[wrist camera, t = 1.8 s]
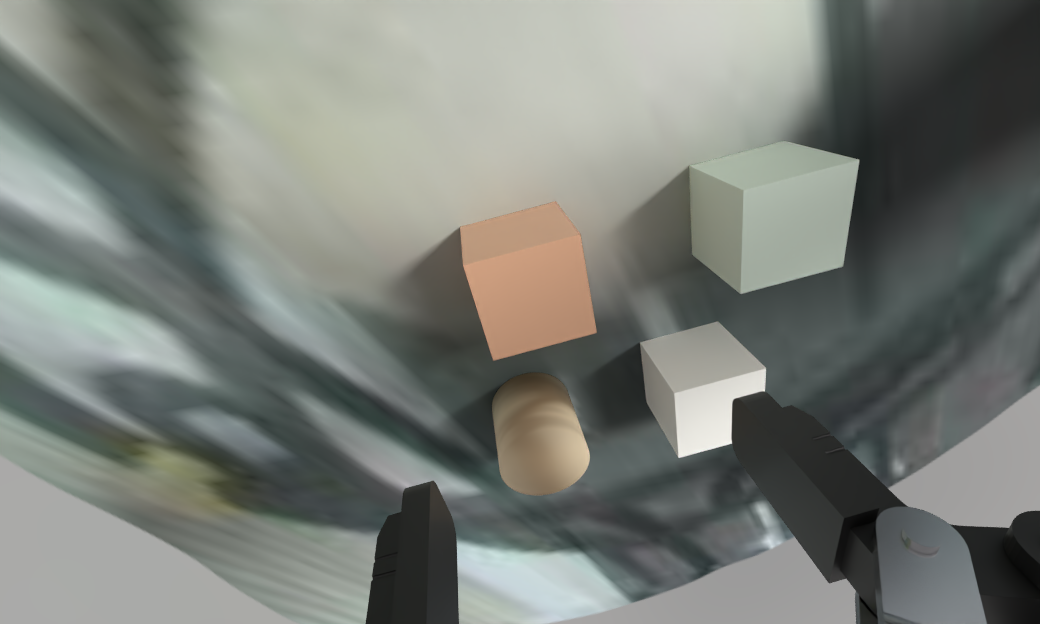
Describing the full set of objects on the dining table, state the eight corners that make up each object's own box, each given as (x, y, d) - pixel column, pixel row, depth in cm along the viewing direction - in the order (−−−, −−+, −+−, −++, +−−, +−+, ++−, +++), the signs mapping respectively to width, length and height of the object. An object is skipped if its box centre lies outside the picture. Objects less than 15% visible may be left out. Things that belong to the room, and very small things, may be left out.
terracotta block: (555, 201, 23) (580, 234, 19) (571, 286, 26) (596, 332, 21) (460, 226, 23) (463, 265, 19) (485, 309, 26) (493, 360, 21)
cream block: (717, 320, 28) (766, 368, 24) (717, 382, 31) (761, 435, 26) (639, 341, 28) (674, 393, 24) (646, 401, 31) (678, 457, 26)
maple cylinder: (561, 363, 28) (582, 419, 24) (574, 421, 31) (595, 481, 26) (482, 384, 28) (489, 444, 24) (502, 441, 31) (511, 504, 26)
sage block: (782, 140, 23) (859, 159, 19) (776, 231, 26) (843, 266, 21) (688, 165, 23) (743, 190, 19) (691, 254, 26) (740, 294, 21)
